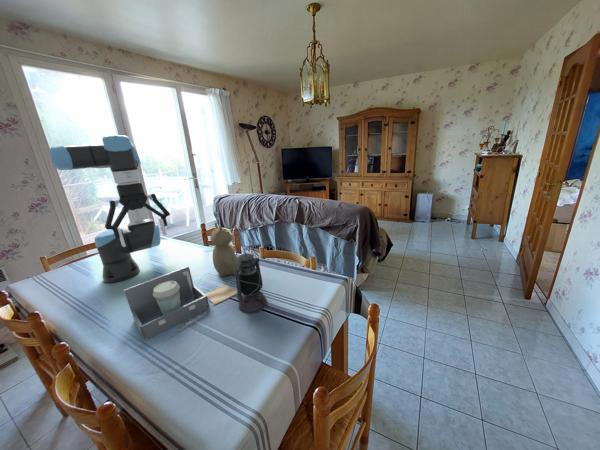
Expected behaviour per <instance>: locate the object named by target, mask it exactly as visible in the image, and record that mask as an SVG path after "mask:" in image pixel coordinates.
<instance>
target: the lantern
mask: <svg viewBox="0 0 600 450" xmlns="http://www.w3.org/2000/svg"><path fill="white" fill-rule="evenodd" d="M241 232H242V233H244V234H246V235H247V236H246V237H247V239H248V243H249V246H250V248H251V250H252V252H253V253H246V252H247V251H246V248H244V249H243V252H244V253H243V254H241V255H239V257H238V260H239V261H237V265H238V268H237V269H236V270H234V274H233V276H234V277H235V284H236V292H237V294H236V295H237V300H238V310H239V311H240V312H241V313H243V314H248V315H250V314H256V313H259V312H261V311H263V310H264V309H265V308H266V306H267V305H268V300H267V297H266V296H265V295H264V293H263V292H262V291H261V290H262V289H263V286H264V285H263V278H262V273H261V272H262V271H261V268H260V258H259V257H257V255H256V253H255V250H254V248H253V246H252V244H251V241H250V237H249V233H248V232H246V231H244V230H242V229H240V230H239V233H238V235H237V237H236V240H239V239H238V238H239V236H240V234H241ZM235 255H236V257H237V256H238V243H236V250H235ZM235 267H236V258H235Z"/></svg>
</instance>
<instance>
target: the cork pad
mask: <svg viewBox="0 0 600 450" xmlns="http://www.w3.org/2000/svg"><path fill="white" fill-rule="evenodd" d="M204 294H205V295H206V296H207V299H208V301H210V303H212V304H213V305H214V306H217V305H218V304H221V303H222V302H224V301H227V300H228V299H230V298H232V297H234V296H236V295H238V294H237V290H234V289H233V288H232V287H230V286H229V285H227V284H224V285H221V286H219V287H217V288H215V289H213V290H211V291H209V292H206V293H204Z"/></svg>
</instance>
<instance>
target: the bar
mask: <svg viewBox="0 0 600 450" xmlns="http://www.w3.org/2000/svg"><path fill="white" fill-rule="evenodd" d="M205 316H207V315H206V312H204V311H202V312H200V313H198V315H195V317H193V318H191V319H190V320H188V321H186V322H185V323H184V324H182V325H180V326H179V327H177V328H176V331H177V332H178V333H180V332H182V331H183V330H185V329H186V328H187V327H189V326H191V325H193V324H194V323H196V322H197V321H199V320H200V319H203V317H205Z"/></svg>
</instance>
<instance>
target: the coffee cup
mask: <svg viewBox="0 0 600 450" xmlns="http://www.w3.org/2000/svg"><path fill="white" fill-rule="evenodd" d="M179 289H180V286H179V285H178V284H177V282H176V281H166V282H163V283H161V284H159V285H157V286H156V287H155V288H154V290H153V296H154V297H155V299H156V301H157V303H158V305H159V307H160V309H161V313H162V316H163V315H165V314H167V313H169V312H171V311H173V310H176V309H178V308H180V307H182V304H181V303H182V302H181V301H180V293H179Z"/></svg>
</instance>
